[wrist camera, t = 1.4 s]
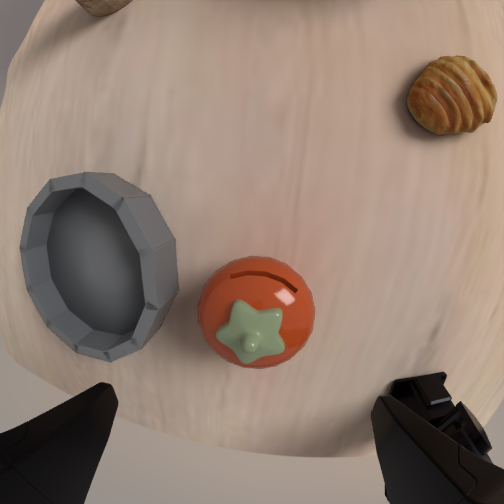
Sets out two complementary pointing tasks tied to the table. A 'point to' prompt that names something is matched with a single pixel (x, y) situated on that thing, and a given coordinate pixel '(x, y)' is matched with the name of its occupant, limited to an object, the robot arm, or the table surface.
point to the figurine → (102, 6)
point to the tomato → (256, 312)
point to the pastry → (452, 96)
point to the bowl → (99, 263)
